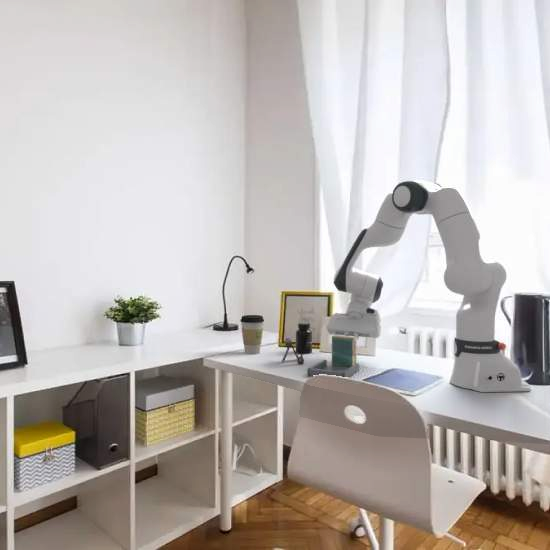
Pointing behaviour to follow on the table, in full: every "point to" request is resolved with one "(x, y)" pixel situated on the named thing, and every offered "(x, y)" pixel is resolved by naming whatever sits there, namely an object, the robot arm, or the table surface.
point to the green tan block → (343, 351)
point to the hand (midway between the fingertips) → (349, 344)
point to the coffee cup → (252, 333)
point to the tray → (332, 370)
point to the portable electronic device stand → (288, 345)
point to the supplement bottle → (304, 339)
